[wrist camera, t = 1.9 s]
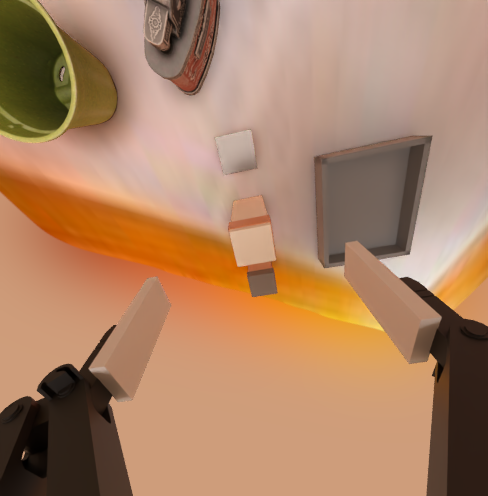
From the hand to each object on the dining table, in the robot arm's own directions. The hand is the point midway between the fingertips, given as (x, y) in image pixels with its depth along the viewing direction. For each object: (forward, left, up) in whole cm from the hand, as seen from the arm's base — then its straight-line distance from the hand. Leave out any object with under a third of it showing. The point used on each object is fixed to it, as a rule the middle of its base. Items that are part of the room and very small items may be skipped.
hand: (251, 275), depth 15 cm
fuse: (0, 0, -14) cm, 14 cm away
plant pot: (+14, -16, -15) cm, 26 cm away
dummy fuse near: (0, -7, -14) cm, 16 cm away
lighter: (+2, -17, -15) cm, 22 cm away
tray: (-14, +2, -14) cm, 20 cm away
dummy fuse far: (0, +8, -14) cm, 16 cm away
